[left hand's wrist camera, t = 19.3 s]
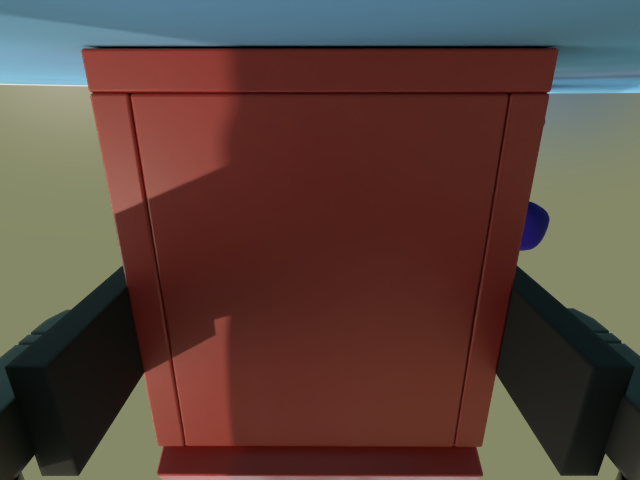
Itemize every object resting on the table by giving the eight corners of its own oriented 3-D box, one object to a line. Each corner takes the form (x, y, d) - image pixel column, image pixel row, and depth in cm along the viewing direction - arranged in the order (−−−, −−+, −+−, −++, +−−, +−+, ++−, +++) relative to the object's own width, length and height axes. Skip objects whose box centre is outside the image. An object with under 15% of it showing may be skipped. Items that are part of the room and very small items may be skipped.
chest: (399, 81, 24) (388, 244, 28) (241, 81, 24) (252, 244, 28) (560, 48, 8) (482, 448, 12) (79, 47, 8) (156, 447, 12)
